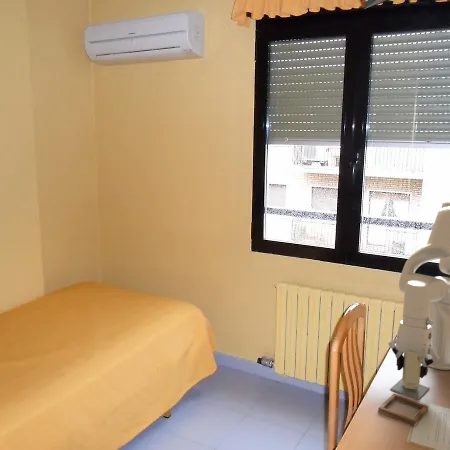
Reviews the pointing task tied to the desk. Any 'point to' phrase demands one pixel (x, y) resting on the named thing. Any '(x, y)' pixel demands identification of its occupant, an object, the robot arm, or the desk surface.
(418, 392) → the rubber mat
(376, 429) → the desk surface
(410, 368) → the skincare box
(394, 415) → the square wooden frame
